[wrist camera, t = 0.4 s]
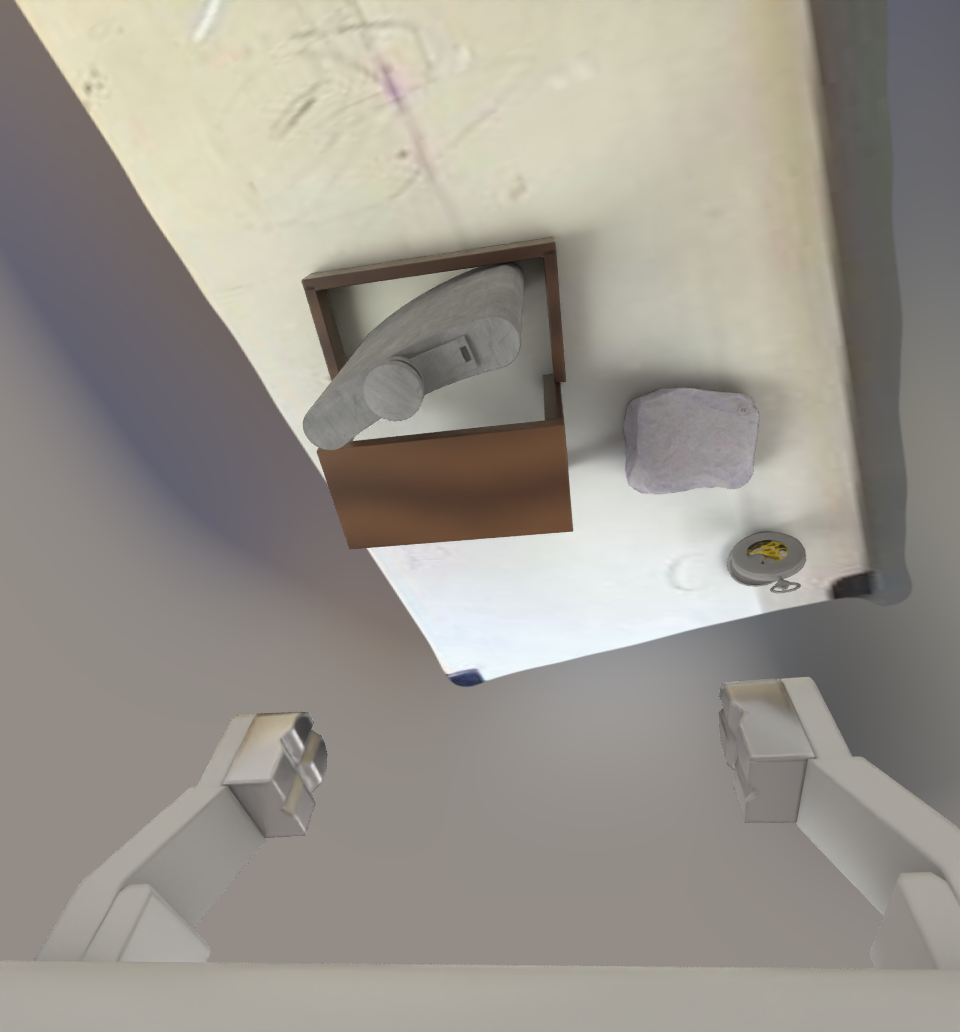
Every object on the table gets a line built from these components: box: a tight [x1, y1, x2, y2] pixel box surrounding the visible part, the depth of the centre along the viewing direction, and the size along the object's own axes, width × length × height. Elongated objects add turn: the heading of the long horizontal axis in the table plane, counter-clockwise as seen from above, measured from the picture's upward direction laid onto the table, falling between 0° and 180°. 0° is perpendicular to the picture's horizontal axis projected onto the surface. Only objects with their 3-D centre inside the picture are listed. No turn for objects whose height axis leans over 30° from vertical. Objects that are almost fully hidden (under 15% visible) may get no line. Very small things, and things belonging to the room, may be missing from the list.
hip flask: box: [303, 262, 524, 450], centre depth 44 cm, size 16×4×20 cm, turn 118°
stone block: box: [623, 388, 759, 494], centre depth 55 cm, size 12×5×10 cm
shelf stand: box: [302, 237, 573, 549], centre depth 51 cm, size 22×21×11 cm
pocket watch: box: [727, 532, 806, 593], centre depth 59 cm, size 8×8×10 cm
